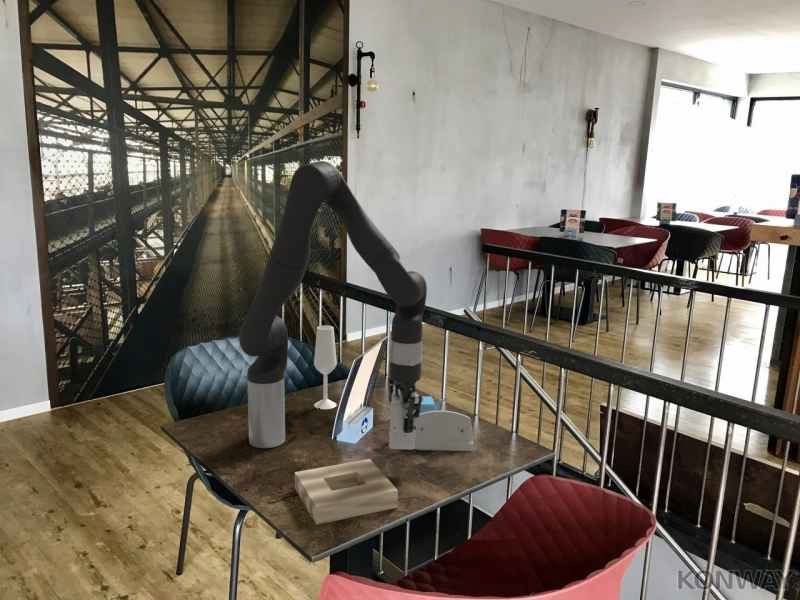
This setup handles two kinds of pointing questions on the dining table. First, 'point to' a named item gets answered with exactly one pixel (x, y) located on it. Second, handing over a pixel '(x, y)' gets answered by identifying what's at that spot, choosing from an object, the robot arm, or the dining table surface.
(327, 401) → the champagne flute
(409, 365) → the robot arm
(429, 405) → the light blue box
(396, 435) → the skincare box
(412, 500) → the dining table surface
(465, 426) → the grey arched bracket
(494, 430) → the dining table surface
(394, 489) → the well block
